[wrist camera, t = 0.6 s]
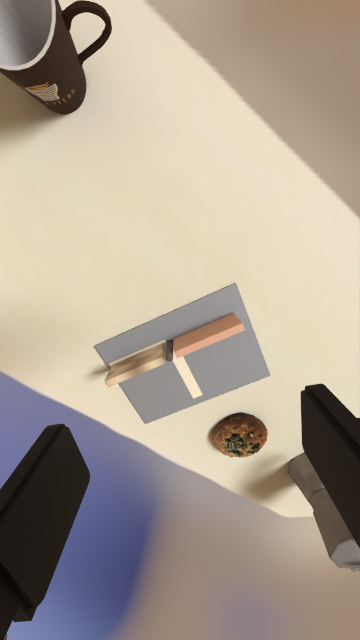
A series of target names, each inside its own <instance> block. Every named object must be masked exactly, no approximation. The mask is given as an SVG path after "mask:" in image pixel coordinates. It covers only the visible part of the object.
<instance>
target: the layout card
mask: <svg viewBox="0 0 360 640" xmlns="http://www.w3.org/2000/svg"><path fill="white" fill-rule="evenodd" d="M232 313H235V315H236V316H237V317H238V318H239V320H240V321H241V322H242V323H243V326H244V329H245V330H244V331H242V332H239V333H237V334H234V335H232V336H230V337H227V338H225V339H223V340H220V341H218V342H215V343H213V344H211V345H208V346H206V347H203V348H201V349H199V350H196V351H194V352H191V353H189V354H187V355H184V356H182V357H180V358H176V356H175V354H174V338H177V337H179V336H181V335H184V334H186V333H188V332H191V331H193V330H195V329H198V328H200V327H202V326H205V325H207V324H209V323H212V322H214V321H216V320H219V319H221V318H223V317H225V316H228V315H230V314H232ZM168 340H172V341H173V360H172V361H167V360H166V359H165V364H163V365H160V366H158V367H156V368H153V369H151V370H148V371H146V372H144V373H141V374H139V375H136V376H134V377H132V378H129V379H127V380H125V381H122V382H120V383H119V384H120V386H121V387H122V389H123V390H124V392H125V393H126V395H127V396H128V398H129V400H130V401H131V403H132V404H133V406H134V407H135V409H136V410H137V412H138V413H139V415H140V416H141V418H142V419H143V421H144V422H145V424H147V423H149V422H152V421H155V420H157V419H160V418H162V417H165V416H167V415H170V414H173V413H175V412H178V411H180V410H183V409H185V408H188V407H191V406H193V405H196V404H198V403H201V402H204V401H206V400H209V399H211V398H214V397H216V396H219V395H222V394H224V393H227V392H229V391H232V390H234V389H237V388H240V387H242V386H245V385H247V384H250V383H253V382H255V381H258V380H260V379H263V378H265V377H268V376H270V373H269V371H268V368H267V365H266V363H265V360H264V357H263V355H262V352H261V349H260V346H259V344H258V341H257V338H256V336H255V333H254V330H253V328H252V325H251V322H250V320H249V317H248V314H247V312H246V309H245V306H244V304H243V301H242V298H241V295H240V293H239V290H238V287H237V285H236V283H234V284H232V285H230V286H228V287H225V288H223V289H221V290H219V291H216V292H214V293H212V294H210V295H207V296H205V297H203V298H201V299H198V300H196V301H194V302H192V303H189V304H187V305H185V306H183V307H181V308H178V309H176V310H174V311H172V312H169V313H167V314H165V315H163V316H160V317H158V318H156V319H154V320H151V321H149V322H147V323H145V324H142V325H140V326H138V327H136V328H134V329H131V330H129V331H127V332H125V333H122V334H120V335H118V336H116V337H113V338H111V339H109V340H107V341H104V342H102V343H100V344H98V345H95V346H94V347H95V348H96V350H97V351H98V353H99V354H100V356H101V357H102V359H103V360H104V362H105V363H106V365H107V366H108V368H109V369H111V367H112V365H113V364H115V363H117V362H119V361H122V360H124V359H126V358H129V357H131V356H133V355H136V354H138V353H140V352H143V351H145V350H147V349H150V348H152V347H154V346H157V345H159V344H161V343H164V345H165V347H166V342H167V341H168Z"/></svg>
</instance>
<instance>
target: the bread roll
mask: <svg viewBox="0 0 360 640" xmlns="http://www.w3.org/2000/svg"><path fill="white" fill-rule="evenodd" d="M267 434H268V433H267V429H266V427H265V425H264V424H263V422H262V421H261V420H260V419H258V418H256V417H255V416H253V415H250V414H246V413H241V412H240V413H236V414H233V415H232V416H229V417H227V418H225V419H224V420H223V421H222V422H220V424H219V426H218V427H216V428H215V430H214V432H213V437H212V440H213V441H214V444H215V445H216V447H217V448H218V449H219V450H220V451H221V452H222V453H223V454H224V455H227V456H229V457H233V456H234V457H247V456H251V455H252V454H254V453H255V452H256V453H257V451H259V450H260V449H261V448H262V447H263V445H264V444H265V442H266V441H267Z"/></svg>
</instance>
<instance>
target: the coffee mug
mask: <svg viewBox="0 0 360 640" xmlns="http://www.w3.org/2000/svg"><path fill="white" fill-rule="evenodd" d="M84 12H89V13H93V14H95V15H97V16H99V17H101V18H102V19H103V21H104V22H105V24H106V26H105V29H104V30H103V32H102V34H101V36H100V37H99V38H98V39H97V40H96V41H95V42H94V43H92V44H91V45H90V46H89V47H88V48H86V49H85V50H84V51H83V52H82V53H80V54H77V51H76V48H75V46H74V43H73V40H72V37H71V35H70V32H69V30H70V28H71V22H72V19H73V18H74V17H75V16H76V15H78V14H80V13H84ZM111 30H112V26H111V20H110V17H109V15H108V13H107V12H106V10H105V9H104V8H103V7H102V6H100V5H98V4H97V3H94V2H90V1H83V0H81V1H76V2H74V3H73V4H71V5H69V6H68V7H67V8H66V9H65V10H63V11H62V10H61V7H60V4H59V2H58V0H0V72H1V73H2V74H4V75H5V76H6V77H8V78H9V79H10V80H12V81H13V82H14V83H16V84H17V85H18V86H20V87H21V88H22V89H24V90H25V91H26V92H28V93H29V94H30V95H32V96H33V97H34V98H36V99H37V100H38V101H40V102H41V103H42V104H44V105H45V106H46V107H48V108H49V109H50V110H52V111H54V112H56V113H60V114H68V113H72V112H74V111H76V110H77V109H78V108H79V107H80V105H81V104H82V103H83V100H84V98H85V94H86V78H85V74H84V70H83V68H82V64H83V62H84V61H85V60H86V59H87V58H88V57H90V56H91V55H93V54H94V53H95V52H96V51H97V50H99V49H100V48H101V47H102V46H103V45H104V44H105V42H106V41H107V40H108V38H109V36H110V34H111Z"/></svg>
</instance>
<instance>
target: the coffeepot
mask: <svg viewBox="0 0 360 640" xmlns="http://www.w3.org/2000/svg"><path fill="white" fill-rule="evenodd" d="M288 473H289V474H290V476H291V477H292V479H293V480H294V482H295V483H296V484H297V486H298V487H299V489H300V490H301V492H302V493H303V495H304V496H305V498H306V499H307V500H308V502H309V503H310V504H311V506H312V508H313V510H314V512H313V514H314V517H315V520H316V522H317V525H318V527H319V530H320V533H321V535H322V538H323V541H324V544H325V546H326V549H327V552H328V555H329V557H330V559H331V560H332V561H333V562H334V563H335V564H336V565H337V566H338V567H339V568H351V570H352V571H353V572H356V570H360V548H359V547H358V545H357V543H356V541H355V540H354V538H353V536H352V534H351V533H350V531H349V529H348V527H347V526H346V524H345V522H344V520H343V519H342V517H341V515H340V513H339V512H338V510H337V508H336V506H335V505H334V503H333V501H332V499H331V498H330V496H329V494H328V492H327V491H326V489H325V487H324V485H323V484H322V482H321V480H320V478H319V477H318V475H317V473H316V471H315V470H314V468H313V466H312V464H311V463H310V461H309V459H308V457H307V456H306V454H305V453H303V454H301V455H299V456H297V457H296V458H294V459H293V460H292V462H291V463H290V465H289V471H288Z"/></svg>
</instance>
